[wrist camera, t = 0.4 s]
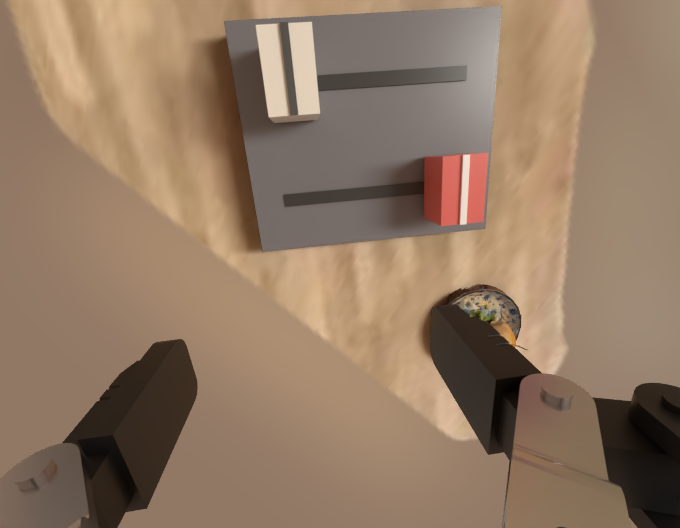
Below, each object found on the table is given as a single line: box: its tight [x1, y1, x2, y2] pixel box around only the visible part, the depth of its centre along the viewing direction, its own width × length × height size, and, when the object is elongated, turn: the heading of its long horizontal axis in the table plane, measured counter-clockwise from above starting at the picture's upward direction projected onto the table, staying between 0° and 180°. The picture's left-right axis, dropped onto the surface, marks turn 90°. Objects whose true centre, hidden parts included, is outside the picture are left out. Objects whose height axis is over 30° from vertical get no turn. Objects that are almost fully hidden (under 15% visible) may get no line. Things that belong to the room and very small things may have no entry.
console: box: [224, 6, 502, 252], centre depth 31 cm, size 20×24×3 cm
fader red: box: [424, 153, 488, 226], centre depth 30 cm, size 6×4×5 cm, turn 5°
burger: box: [447, 284, 527, 350], centre depth 38 cm, size 12×12×8 cm
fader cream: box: [256, 22, 320, 123], centre depth 25 cm, size 6×4×5 cm, turn 5°
